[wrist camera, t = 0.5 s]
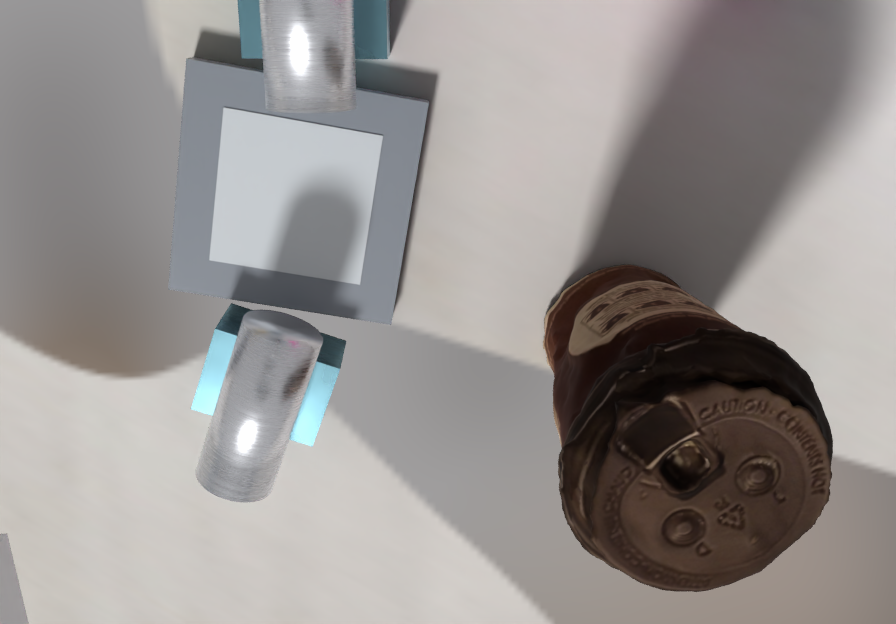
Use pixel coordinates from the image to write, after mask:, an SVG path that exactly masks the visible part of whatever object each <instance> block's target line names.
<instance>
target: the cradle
mask: <svg viewBox="0 0 896 624" xmlns="http://www.w3.org/2000/svg"><path fill="white" fill-rule="evenodd" d="M356 103H357V108H356V109H354V110H349V111H342V112H330V113H285V112H275V111H269V110H267V109H266V102H265V87H264V71H263V70H261V69H255V68H250V67H244V66H239V65H233V64H228V63H223V62H217V61H212V60H206V59H201V58H195V57H192V58H187V59H186V71H185V84H184V96H183V109H182V122H181V135H180V147H179V160H178V173H177V186H176V198H175V211H174V225H173V237H172V249H171V263H170V275H169V288H168V289H169V290H176V291H182V292H188V293H195V294H201V295H207V296H213V297H220V298H226V299H232V300H239V301H245V302H251V303H257V304H264V305H270V306H276V307H282V308H289V309H295V310H302V311H308V312H314V313H320V314H326V315H333V316H339V317H345V318H351V319H358V320H364V321H370V322H377V323H383V324H389V325H391V323H392V317H393V311H394V305H395V299H396V293H397V287H398V281H399V276H400V270H401V264H402V258H403V252H404V246H405V240H406V235H407V229H408V223H409V217H410V211H411V205H412V199H413V193H414V188H415V182H416V176H417V170H418V164H419V158H420V152H421V147H422V141H423V135H424V129H425V123H426V117H427V111H428V106H429V100H425V99H419V98H414V97H408V96H403V95H397V94H392V93H386V92H381V91H375V90H370V89H364V88H359V87H356Z"/></svg>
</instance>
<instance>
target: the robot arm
mask: <svg viewBox="0 0 896 624" xmlns="http://www.w3.org/2000/svg"><path fill="white" fill-rule="evenodd" d="M0 624H29V623H28V619H27V615H26V610H25V606H24V602H23V598H22V594H21V590H20V585H19V581H18V577H17V573H16V569H15V565H14V561H13V556H12V552H11V548H10V544H9V540H8V536H7V534H0Z"/></svg>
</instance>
